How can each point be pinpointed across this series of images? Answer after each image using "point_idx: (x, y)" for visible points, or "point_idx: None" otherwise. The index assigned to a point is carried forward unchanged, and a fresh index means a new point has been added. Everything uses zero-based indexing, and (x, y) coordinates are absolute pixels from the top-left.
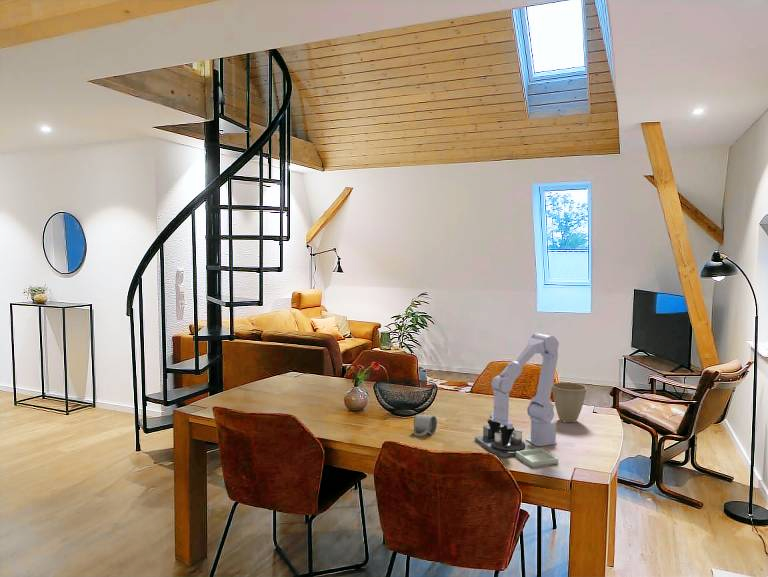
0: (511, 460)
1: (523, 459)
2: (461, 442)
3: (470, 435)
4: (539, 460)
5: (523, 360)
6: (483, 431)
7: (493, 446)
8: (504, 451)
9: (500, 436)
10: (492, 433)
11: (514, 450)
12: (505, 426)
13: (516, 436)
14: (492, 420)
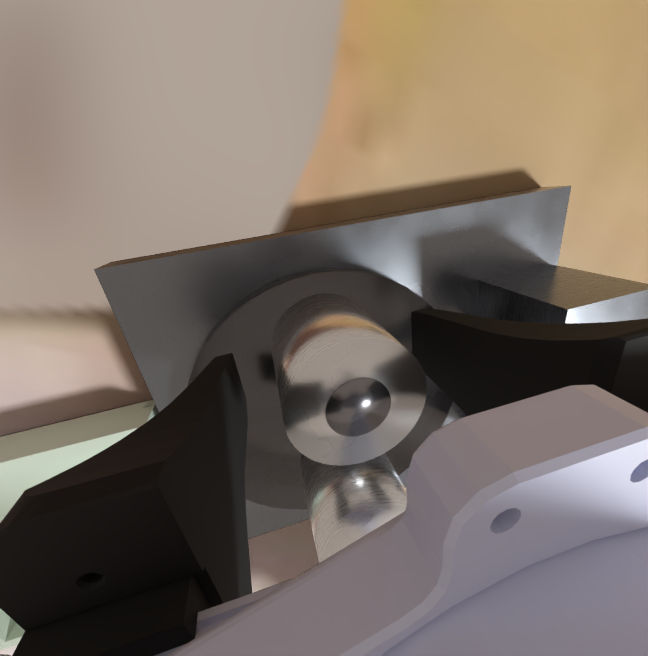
0: (58, 347)
1: (20, 442)
2: (558, 27)
3: (635, 194)
4: None
5: None
6: (590, 273)
7: (310, 272)
8: (182, 336)
9: (283, 379)
10: (444, 319)
11: None
12: (91, 648)
13: (315, 515)
14: (472, 446)
